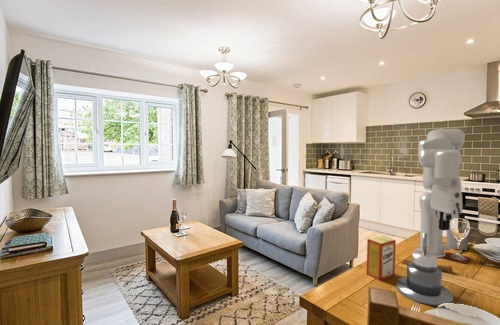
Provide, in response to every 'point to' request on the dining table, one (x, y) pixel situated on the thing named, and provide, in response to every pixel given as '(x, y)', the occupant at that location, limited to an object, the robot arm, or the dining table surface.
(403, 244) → the dining table surface
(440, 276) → the grey stepped cylinder
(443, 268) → the primitive tool
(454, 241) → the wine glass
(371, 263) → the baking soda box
